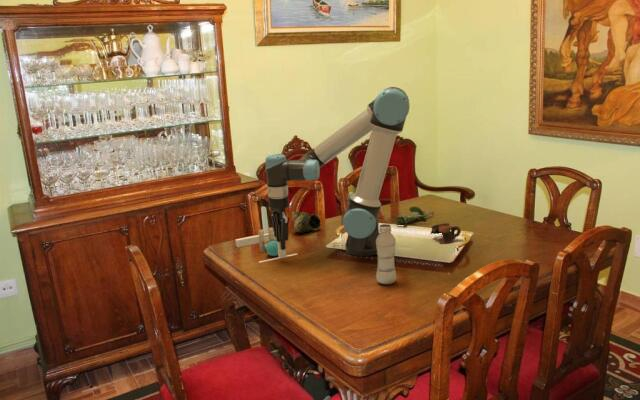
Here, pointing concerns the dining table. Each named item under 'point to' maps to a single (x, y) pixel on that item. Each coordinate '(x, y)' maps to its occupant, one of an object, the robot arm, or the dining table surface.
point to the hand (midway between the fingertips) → (282, 256)
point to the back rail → (251, 240)
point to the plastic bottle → (385, 255)
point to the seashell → (305, 222)
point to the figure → (412, 216)
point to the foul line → (277, 258)
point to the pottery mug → (446, 232)
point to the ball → (272, 248)
